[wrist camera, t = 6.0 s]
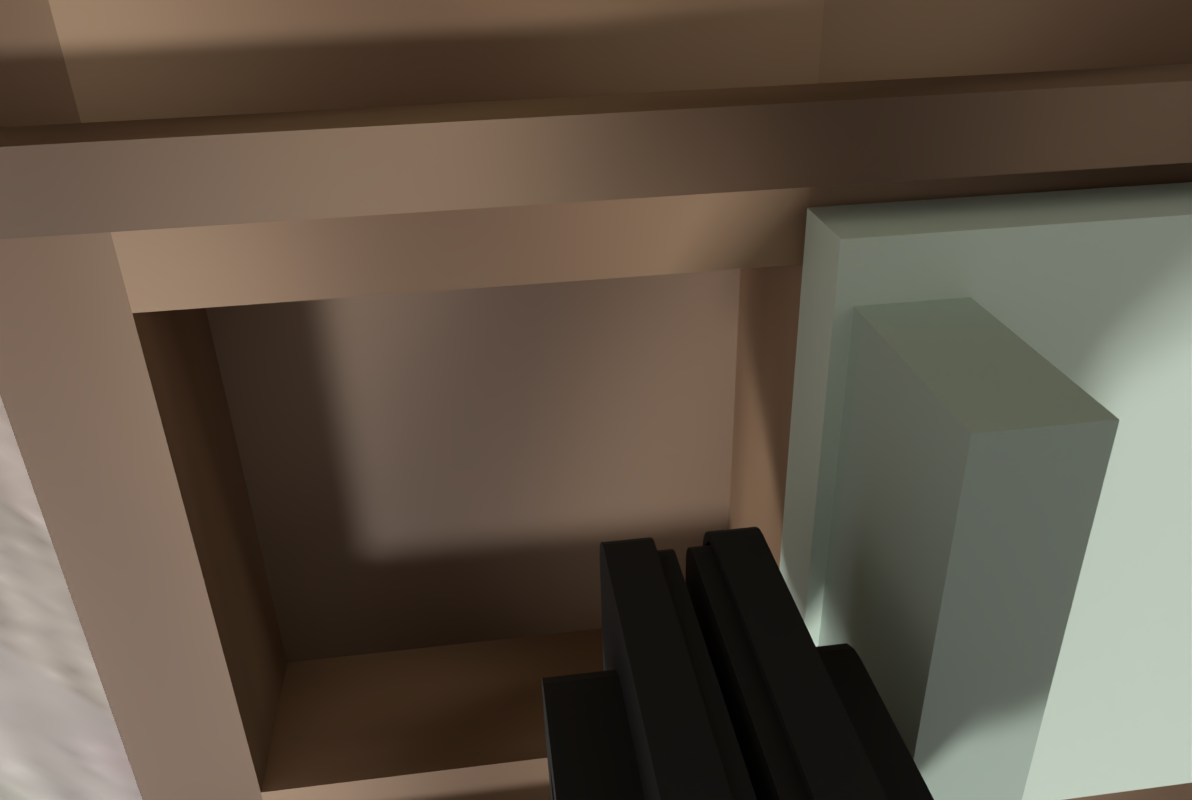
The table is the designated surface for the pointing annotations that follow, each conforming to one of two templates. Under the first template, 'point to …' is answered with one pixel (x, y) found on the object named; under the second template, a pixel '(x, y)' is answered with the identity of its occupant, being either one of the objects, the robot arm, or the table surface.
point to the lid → (1003, 480)
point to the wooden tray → (461, 325)
